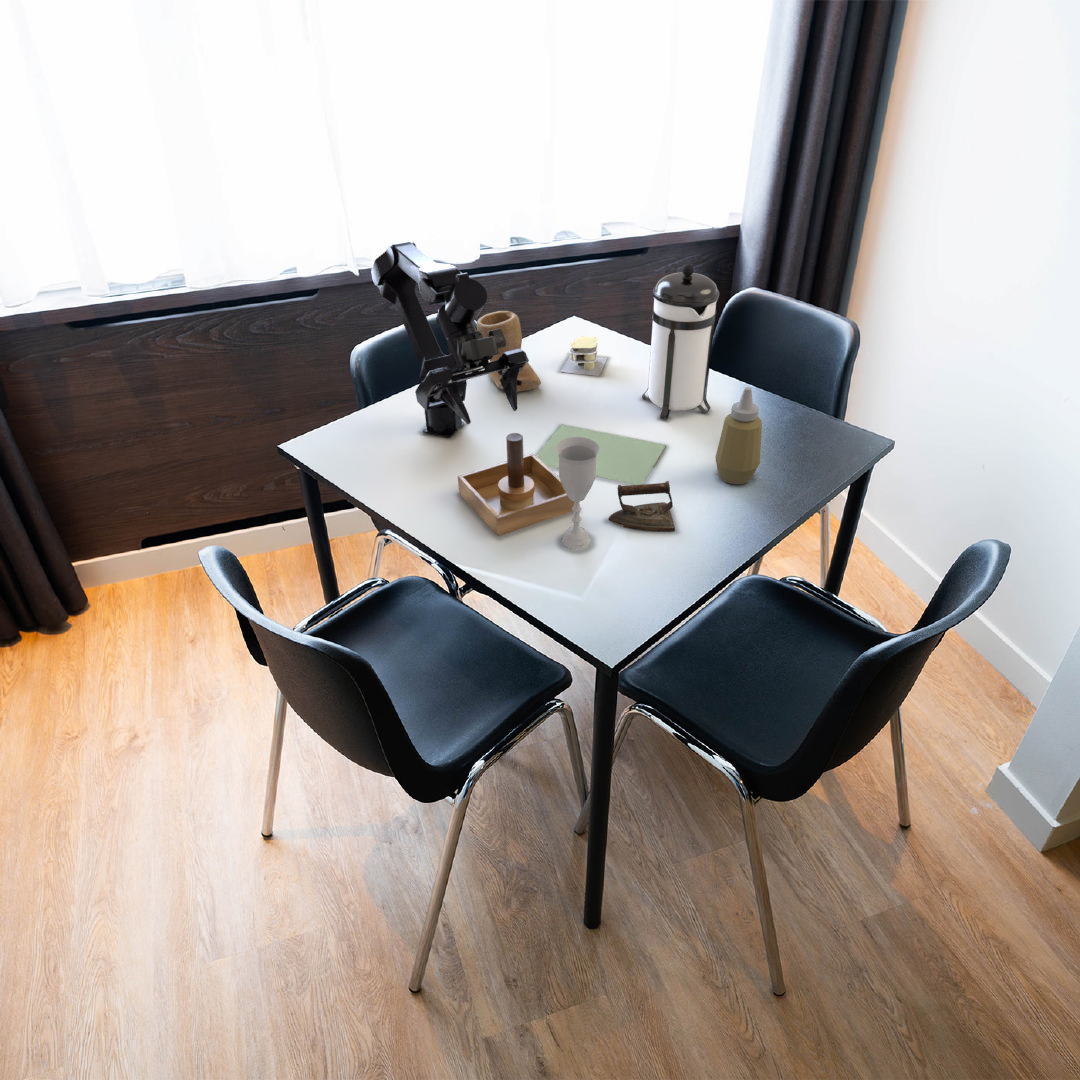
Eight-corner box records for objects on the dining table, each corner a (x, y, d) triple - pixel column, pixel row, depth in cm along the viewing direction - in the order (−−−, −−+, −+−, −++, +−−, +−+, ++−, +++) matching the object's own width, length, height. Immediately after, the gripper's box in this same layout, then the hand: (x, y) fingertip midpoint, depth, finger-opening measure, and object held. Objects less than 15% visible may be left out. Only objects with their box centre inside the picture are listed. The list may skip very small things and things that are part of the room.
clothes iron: (679, 533, 143) (671, 489, 136) (614, 547, 144) (602, 504, 138) (672, 507, 148) (664, 463, 141) (609, 520, 150) (598, 477, 143)
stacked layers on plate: (570, 354, 201) (570, 332, 197) (607, 358, 199) (608, 335, 195) (560, 372, 193) (560, 349, 190) (598, 376, 191) (599, 353, 188)
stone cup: (475, 369, 194) (471, 307, 185) (525, 363, 197) (523, 301, 188) (489, 399, 182) (486, 333, 174) (542, 391, 185) (541, 326, 176)
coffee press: (724, 398, 182) (742, 258, 164) (693, 429, 171) (709, 283, 153) (651, 379, 189) (661, 244, 171) (617, 408, 178) (624, 267, 160)
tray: (459, 494, 152) (457, 475, 150) (533, 471, 159) (532, 453, 156) (498, 538, 142) (497, 518, 139) (576, 511, 148) (576, 492, 145)
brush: (492, 506, 149) (489, 442, 141) (507, 488, 153) (505, 425, 146) (525, 514, 146) (524, 449, 139) (540, 495, 151) (539, 431, 143)
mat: (530, 464, 161) (530, 462, 160) (561, 426, 172) (561, 424, 172) (641, 487, 154) (641, 485, 153) (665, 446, 165) (665, 444, 165)
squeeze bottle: (760, 469, 158) (774, 381, 147) (754, 492, 152) (769, 402, 141) (716, 462, 160) (728, 375, 150) (709, 484, 154) (720, 395, 143)
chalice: (553, 530, 143) (553, 438, 132) (593, 528, 144) (596, 435, 133) (558, 556, 137) (558, 462, 127) (599, 554, 138) (603, 459, 127)
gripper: (422, 326, 138) (456, 414, 137) (522, 304, 145) (555, 387, 144) (408, 354, 148) (440, 436, 147) (502, 331, 155) (533, 409, 154)
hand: (492, 416), depth 148 cm, fingers open, 9 cm apart
